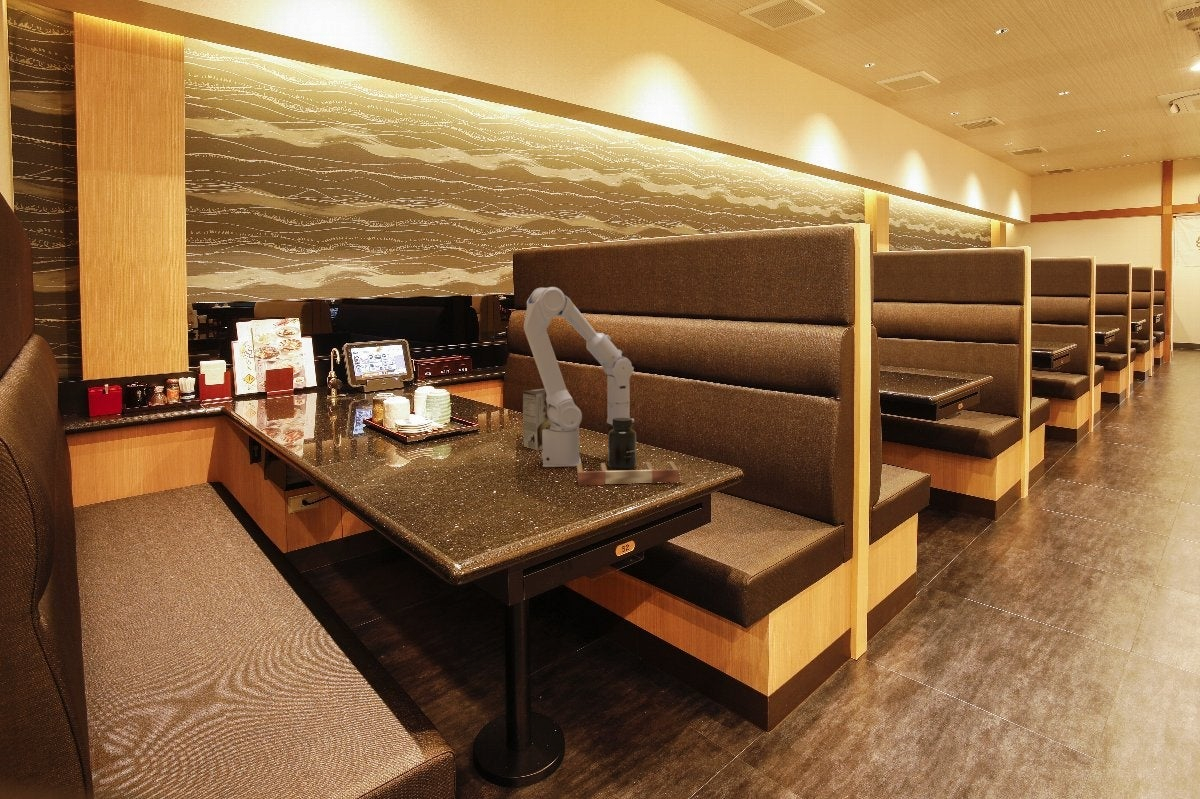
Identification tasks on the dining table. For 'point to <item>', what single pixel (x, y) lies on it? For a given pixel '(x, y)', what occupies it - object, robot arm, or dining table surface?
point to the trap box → (627, 475)
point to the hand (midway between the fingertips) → (618, 454)
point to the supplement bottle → (622, 444)
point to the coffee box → (534, 417)
